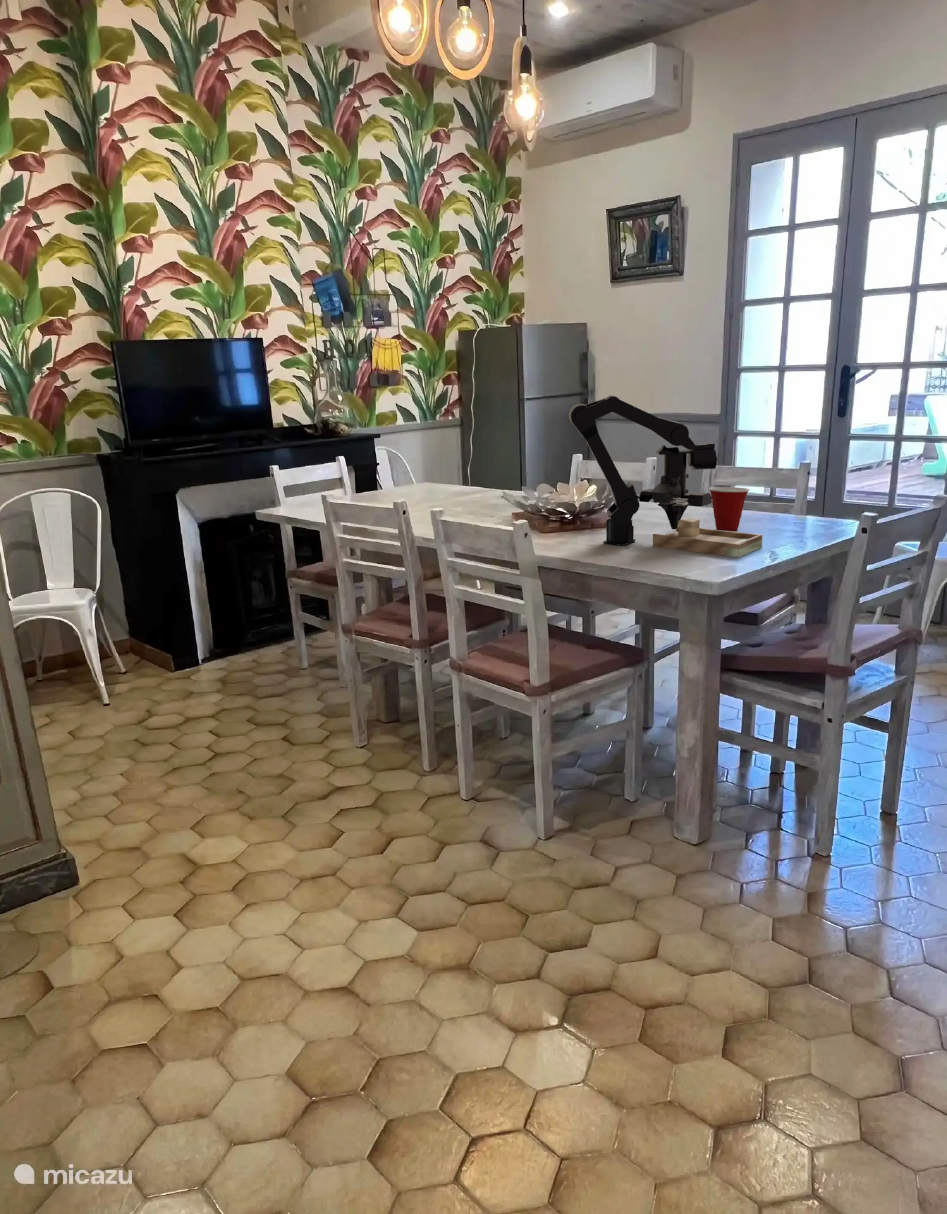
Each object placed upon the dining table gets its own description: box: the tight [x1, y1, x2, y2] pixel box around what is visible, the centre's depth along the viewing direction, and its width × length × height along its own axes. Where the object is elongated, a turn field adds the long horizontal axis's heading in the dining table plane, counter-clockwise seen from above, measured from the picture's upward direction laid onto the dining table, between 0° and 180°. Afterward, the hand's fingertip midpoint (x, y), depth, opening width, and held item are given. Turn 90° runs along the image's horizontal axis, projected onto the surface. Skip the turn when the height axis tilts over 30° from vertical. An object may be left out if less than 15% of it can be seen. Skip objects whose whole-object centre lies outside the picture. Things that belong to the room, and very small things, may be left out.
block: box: [678, 517, 701, 537], centre depth 220 cm, size 4×4×4 cm
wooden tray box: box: [652, 526, 763, 558], centre depth 215 cm, size 24×13×3 cm, turn 48°
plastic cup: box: [708, 486, 750, 532], centre depth 232 cm, size 11×11×12 cm
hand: (674, 529), depth 223 cm, fingers closed
